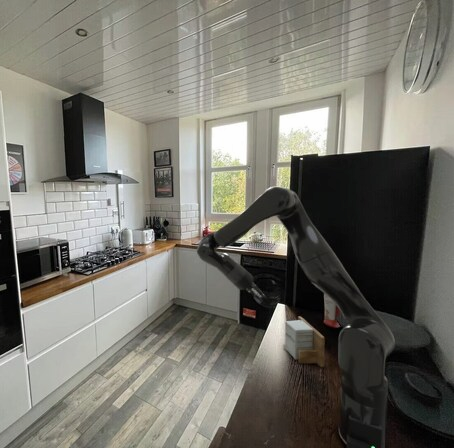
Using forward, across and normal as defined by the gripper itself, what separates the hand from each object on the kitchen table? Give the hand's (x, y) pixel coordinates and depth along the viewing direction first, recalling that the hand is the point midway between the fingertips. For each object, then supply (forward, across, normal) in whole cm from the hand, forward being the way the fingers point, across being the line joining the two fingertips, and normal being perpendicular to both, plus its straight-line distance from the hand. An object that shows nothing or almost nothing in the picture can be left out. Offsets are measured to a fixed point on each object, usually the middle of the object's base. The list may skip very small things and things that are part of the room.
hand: (269, 303), depth 99 cm
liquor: (+43, +20, -12) cm, 49 cm away
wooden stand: (+25, 0, +6) cm, 26 cm away
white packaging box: (+24, 0, +7) cm, 25 cm away
